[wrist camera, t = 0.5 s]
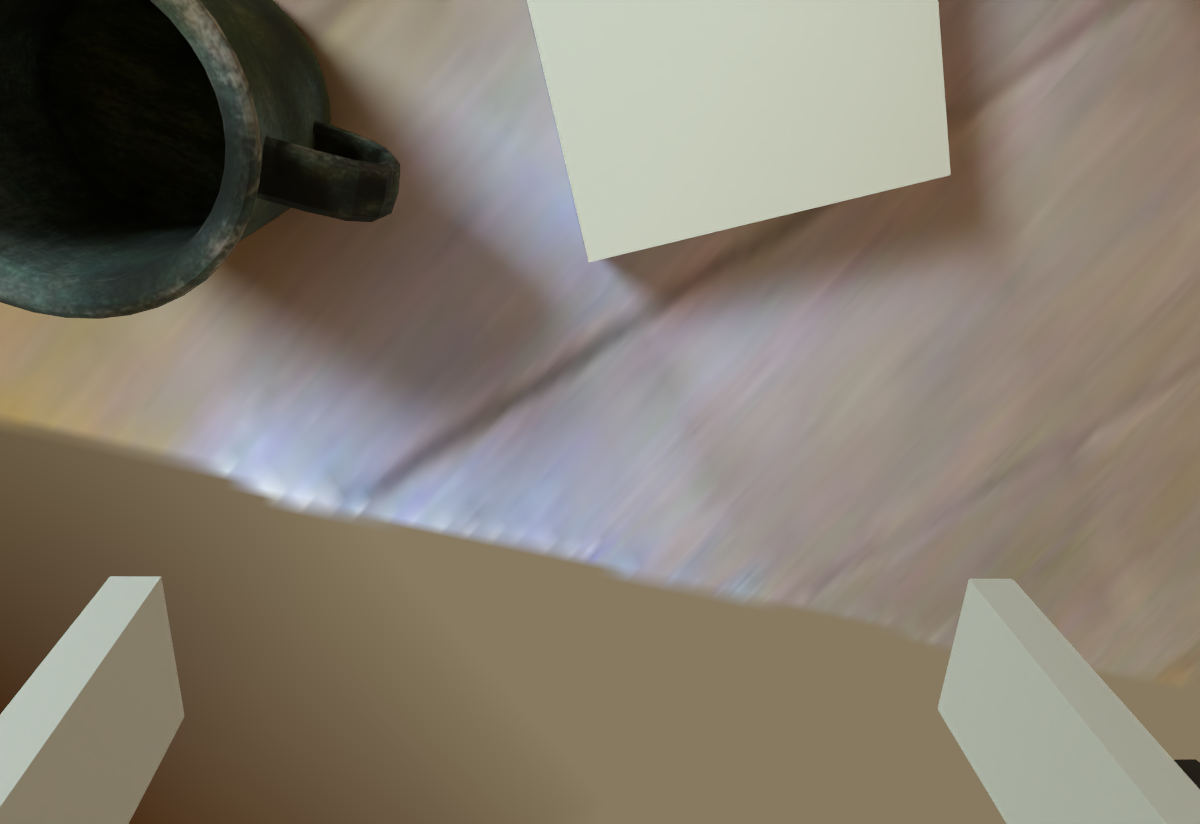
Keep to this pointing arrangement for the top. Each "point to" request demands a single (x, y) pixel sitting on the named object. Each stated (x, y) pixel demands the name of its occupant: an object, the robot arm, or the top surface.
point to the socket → (737, 109)
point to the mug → (160, 147)
